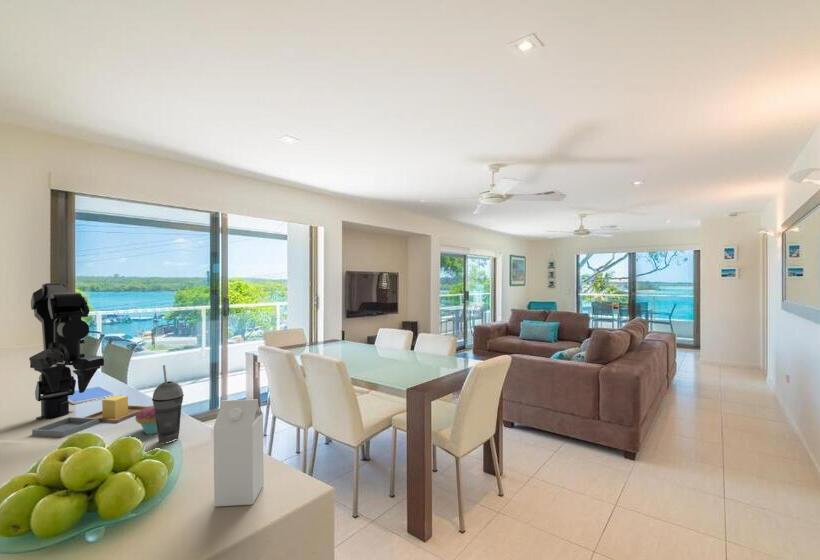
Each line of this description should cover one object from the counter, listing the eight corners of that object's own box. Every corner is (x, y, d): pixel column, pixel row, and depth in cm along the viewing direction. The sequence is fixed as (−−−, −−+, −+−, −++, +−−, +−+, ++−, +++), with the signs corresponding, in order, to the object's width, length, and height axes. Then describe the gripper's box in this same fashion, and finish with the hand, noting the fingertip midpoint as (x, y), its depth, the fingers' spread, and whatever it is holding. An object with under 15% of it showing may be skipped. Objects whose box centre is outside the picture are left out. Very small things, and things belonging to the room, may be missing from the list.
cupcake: (178, 427, 114) (178, 386, 114) (150, 438, 106) (150, 394, 106) (156, 424, 117) (156, 383, 117) (128, 435, 109) (127, 391, 109)
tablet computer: (58, 396, 148) (58, 393, 148) (100, 388, 158) (100, 385, 158) (72, 406, 136) (72, 402, 136) (116, 397, 146) (116, 393, 146)
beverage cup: (169, 447, 101) (168, 369, 101) (145, 444, 102) (144, 368, 102) (190, 435, 108) (189, 363, 108) (167, 433, 109) (167, 362, 109)
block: (102, 417, 121) (102, 399, 121) (115, 412, 125) (115, 395, 125) (115, 418, 120) (114, 400, 120) (127, 413, 125) (127, 396, 125)
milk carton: (228, 487, 81) (227, 395, 81) (263, 485, 82) (262, 394, 81) (214, 507, 74) (213, 406, 74) (253, 505, 74) (252, 405, 74)
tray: (82, 422, 119) (82, 417, 119) (118, 409, 131) (118, 404, 131) (117, 424, 117) (117, 420, 117) (151, 410, 129) (151, 406, 129)
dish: (32, 437, 108) (32, 429, 108) (70, 423, 118) (69, 416, 118) (63, 439, 106) (63, 431, 106) (99, 425, 116) (99, 418, 116)
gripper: (7, 341, 106) (8, 399, 106) (65, 342, 103) (66, 402, 103) (51, 335, 117) (52, 387, 117) (105, 336, 114) (106, 390, 114)
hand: (68, 392), depth 112 cm, fingers open, 9 cm apart
